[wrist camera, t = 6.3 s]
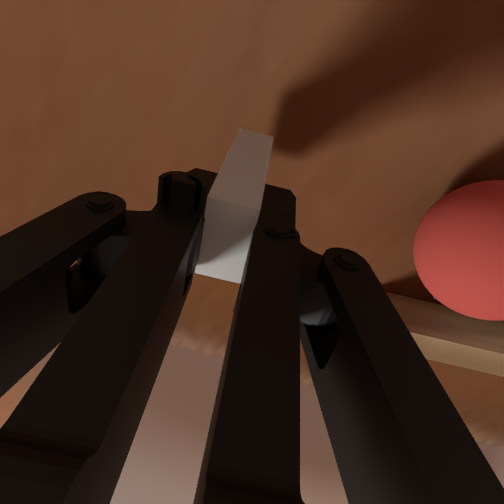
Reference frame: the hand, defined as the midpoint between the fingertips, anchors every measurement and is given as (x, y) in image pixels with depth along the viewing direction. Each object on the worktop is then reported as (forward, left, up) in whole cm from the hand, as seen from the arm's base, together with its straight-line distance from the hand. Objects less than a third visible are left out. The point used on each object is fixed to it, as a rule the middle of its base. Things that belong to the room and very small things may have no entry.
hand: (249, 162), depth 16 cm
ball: (+1, +11, +1) cm, 11 cm away
